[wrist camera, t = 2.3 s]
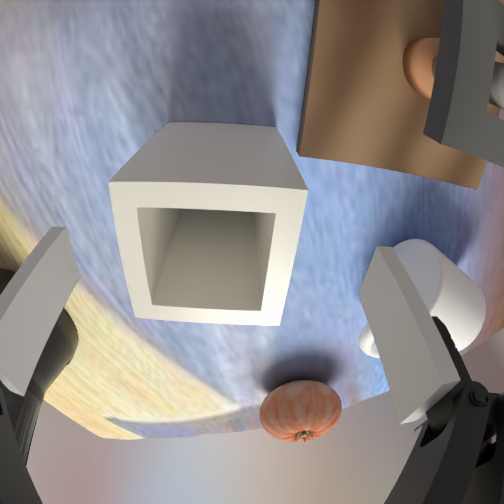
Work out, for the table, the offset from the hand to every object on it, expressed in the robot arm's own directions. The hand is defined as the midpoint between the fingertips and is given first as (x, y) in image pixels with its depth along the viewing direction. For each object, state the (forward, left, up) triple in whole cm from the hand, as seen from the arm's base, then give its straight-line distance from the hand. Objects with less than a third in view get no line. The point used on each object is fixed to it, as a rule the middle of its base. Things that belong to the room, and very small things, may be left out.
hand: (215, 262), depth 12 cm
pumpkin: (+11, -29, -10) cm, 33 cm away
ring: (+13, +10, -2) cm, 16 cm away
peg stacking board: (+13, +10, -10) cm, 19 cm away
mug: (+18, -10, -10) cm, 23 cm away
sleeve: (0, 0, -10) cm, 10 cm away
